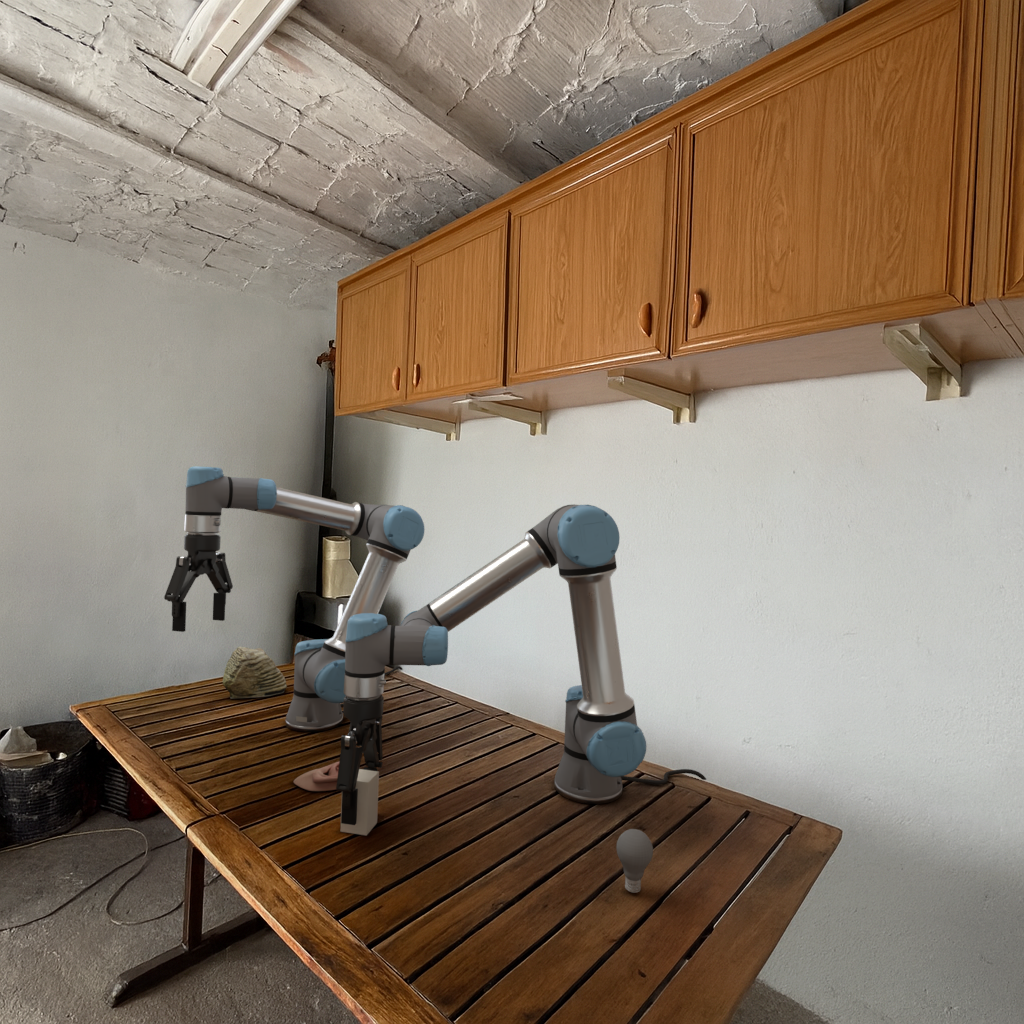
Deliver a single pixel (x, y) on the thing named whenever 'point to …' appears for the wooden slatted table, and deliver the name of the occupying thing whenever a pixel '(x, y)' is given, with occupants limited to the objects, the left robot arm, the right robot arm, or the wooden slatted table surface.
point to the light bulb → (634, 857)
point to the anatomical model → (319, 778)
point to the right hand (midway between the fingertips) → (359, 811)
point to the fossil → (252, 674)
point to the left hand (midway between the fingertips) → (199, 625)
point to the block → (365, 803)
